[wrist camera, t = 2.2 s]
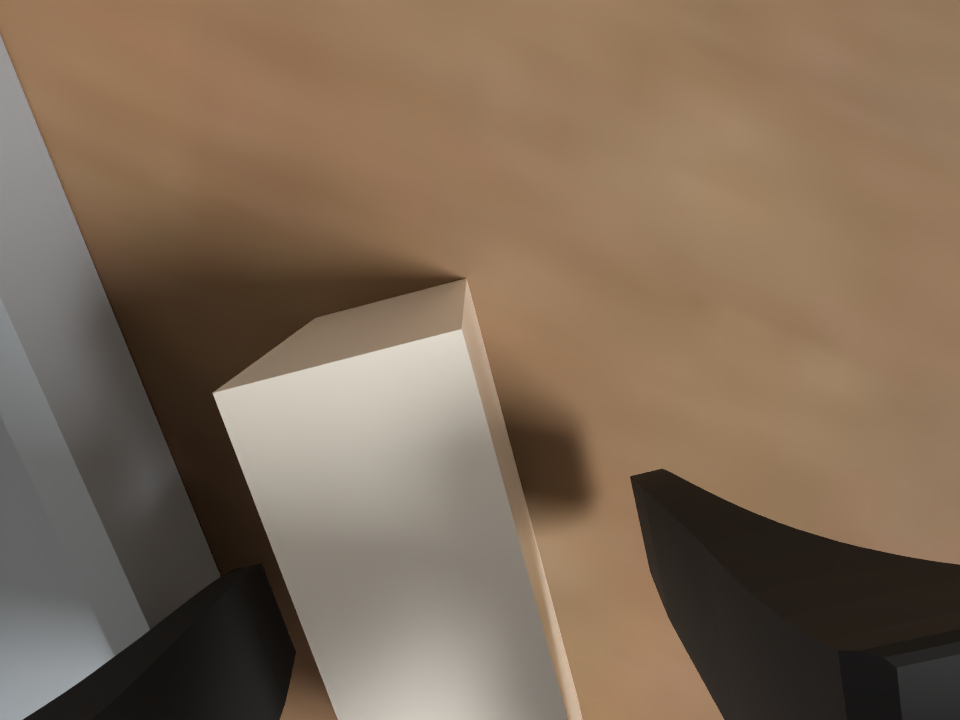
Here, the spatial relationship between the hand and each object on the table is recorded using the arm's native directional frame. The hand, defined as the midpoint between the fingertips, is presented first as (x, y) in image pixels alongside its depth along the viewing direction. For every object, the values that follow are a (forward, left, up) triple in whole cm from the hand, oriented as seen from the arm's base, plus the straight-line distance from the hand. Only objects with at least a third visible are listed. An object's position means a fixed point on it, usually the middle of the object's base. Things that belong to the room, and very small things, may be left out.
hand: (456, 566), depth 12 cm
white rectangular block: (0, 0, -2) cm, 2 cm away
